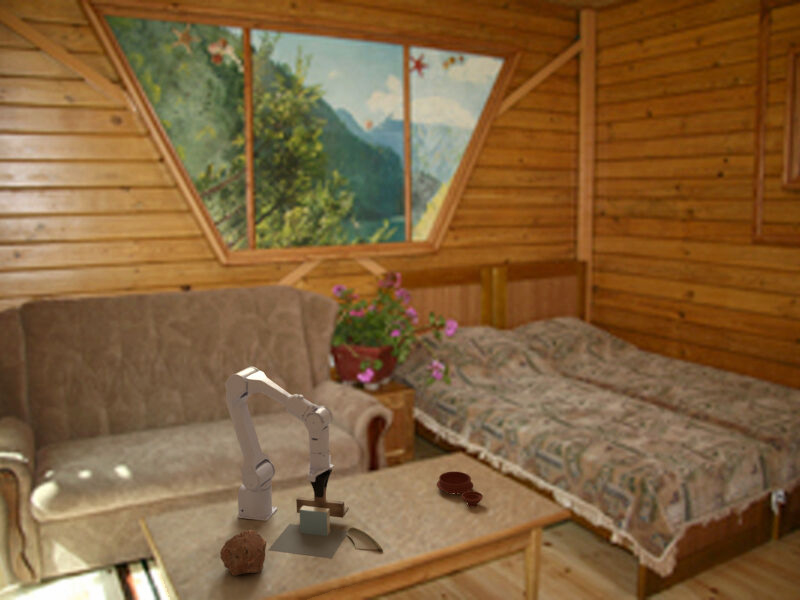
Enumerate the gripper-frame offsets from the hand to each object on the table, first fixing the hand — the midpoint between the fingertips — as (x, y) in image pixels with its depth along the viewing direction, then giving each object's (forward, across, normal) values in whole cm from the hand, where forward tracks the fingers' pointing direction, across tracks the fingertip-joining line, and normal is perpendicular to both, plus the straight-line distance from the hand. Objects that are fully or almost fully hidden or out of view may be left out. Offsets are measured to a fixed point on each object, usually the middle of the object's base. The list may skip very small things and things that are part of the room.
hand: (320, 495), depth 205 cm
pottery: (+10, +28, -36) cm, 47 cm away
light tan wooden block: (+9, -5, 0) cm, 10 cm away
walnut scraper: (+6, +2, 0) cm, 6 cm away
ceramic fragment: (+10, -7, -15) cm, 19 cm away
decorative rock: (+10, -27, +11) cm, 31 cm away
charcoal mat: (+9, -9, 0) cm, 13 cm away
